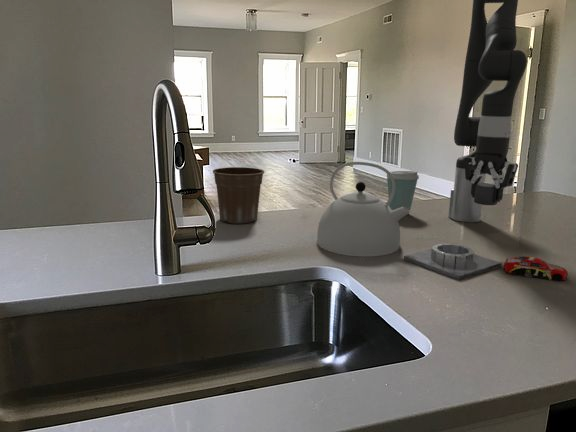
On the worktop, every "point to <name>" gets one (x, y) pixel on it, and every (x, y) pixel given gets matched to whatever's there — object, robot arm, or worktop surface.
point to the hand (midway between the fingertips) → (485, 199)
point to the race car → (534, 268)
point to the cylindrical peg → (484, 193)
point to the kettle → (360, 222)
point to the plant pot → (238, 193)
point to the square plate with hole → (452, 261)
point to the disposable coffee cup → (402, 188)
